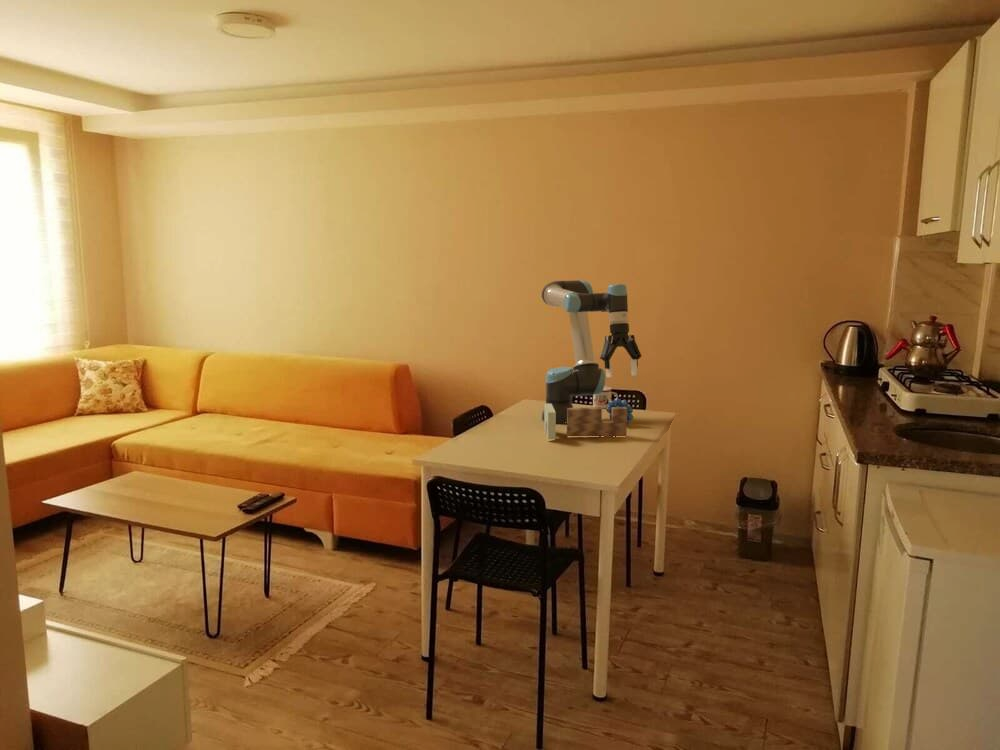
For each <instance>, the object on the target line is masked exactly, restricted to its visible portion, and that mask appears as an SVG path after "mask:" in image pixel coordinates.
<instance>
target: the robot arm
mask: <svg viewBox="0 0 1000 750" xmlns="http://www.w3.org/2000/svg"><path fill="white" fill-rule="evenodd" d="M627 290H628V289H627V286H626V284H624V283H615V284H610V285H608V286H607V292H595V293H594V290H593V287H592V285H591V284H590V282H588V281H587V280H579V279H576V280H555V281H550V282H549V283H547V284H546V285H545V286H544V287H543V288H542V291H541V298H542V299H541V300H542V301H543V302H544V303H545V304H546V305H548V306H550V307H560V308H564V310H565V312H566V313H568V316H569V317H568V318H569V323H570V331H571V338H572V344H573V345H572V346H573V351H574V353H573V354H574V360H575V364H574V365H573V367H571V366H560V367H559V366H558V367H554V368H551V369H549V370H547V371H546V376H545V404H552V406H553V408H554V410H555V412H556V424H566V423H565V422H567V408H574V406H573V397H581V396H593V395H596V394H600V393H601V392H602V391H603V389H604V386H605V385H606V378H614V377H613V362H612V361H613V360H611V358H612V357H613V356H614V353H615V351H616V349H617V348H618V347H620V348H621V347H622V348H624V349H625V351H626V352H627V354H628V355H629V357H630V358H631V359H630V371H631V372H630V373H631V376H632V377H635V376H637V377H638V367H639V361H638V360H640V358H642V354H641V351H640V349H639V347H638V345H637V342H636V339H635V335H634V334H631V335H630V334H629V332H630V324H629V323H628V322H629V310H628V309H629V307H628V306H629V305H628V291H627ZM590 312H592V313H593V312H594V313H595V312H596V313H597V312H601V313H608V317H609V323H610V325H609V333H610V335H605V337H604V343H603V346H602V351H601V353H600V355H599V356H600V357H599V359H600V360H602V362H604V369H605V371H604V369H603V368H601V367H600V365H599V363H598V362H597V361H596V360H595V355H594V347H593V340H592V333H591V327H590V319H589V313H590ZM541 420H542V421H543V420H544V409H543V411H542V414H541Z"/></svg>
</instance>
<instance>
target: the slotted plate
mask: <svg viewBox="0 0 1000 750" xmlns="http://www.w3.org/2000/svg"><path fill="white" fill-rule="evenodd" d="M543 410H544V421H543V427H544V428H543V431H544V430H545V432H544V434H545V433H547V435H546V439H547V438H548V439H556V431H557V428H556V424H557V423H556V412H555V410H554V408H553V406H552V404H546V403H544V406H543Z"/></svg>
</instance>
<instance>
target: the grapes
mask: <svg viewBox="0 0 1000 750" xmlns="http://www.w3.org/2000/svg"><path fill="white" fill-rule="evenodd" d="M609 406H610V407H607V408H606V412H607V413H608V414H609V418H610V420H611V416H612V407H626V408H627V426H628V425H629V424H630V421H632V420H634V416H633V414H632V413H633V411H634V409H633V408H632V406H629V402H628V401H627V400H624V399H623V400H621V398H619V397H618V398H614V400H612V399H611V401H609Z"/></svg>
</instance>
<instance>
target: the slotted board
mask: <svg viewBox="0 0 1000 750" xmlns="http://www.w3.org/2000/svg"><path fill="white" fill-rule="evenodd" d="M602 411H603V408H601V407H573V408H567V423H566V437H567V436H599V437H601V436H604V437H613V436H615V437H616V436H626V437H627V431H628V429H627V428H628V427H627V426H628V425H627V408H626V407H612V416H611V419H610V421H602V419H603V417H602V414H603V412H602Z"/></svg>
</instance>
